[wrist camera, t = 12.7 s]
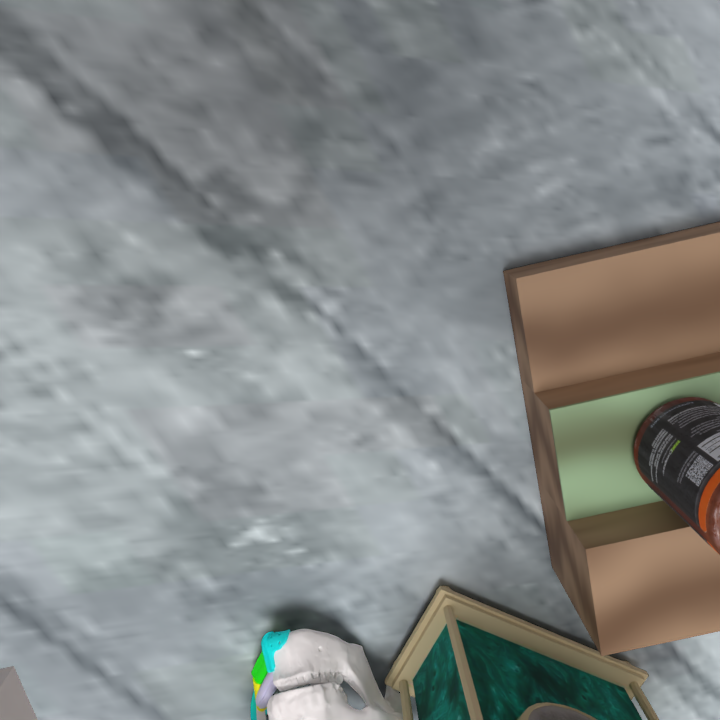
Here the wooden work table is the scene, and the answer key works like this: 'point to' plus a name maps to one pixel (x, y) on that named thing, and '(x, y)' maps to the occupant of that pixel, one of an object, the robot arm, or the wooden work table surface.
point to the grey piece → (316, 680)
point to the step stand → (620, 426)
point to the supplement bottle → (684, 462)
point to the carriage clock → (507, 670)
